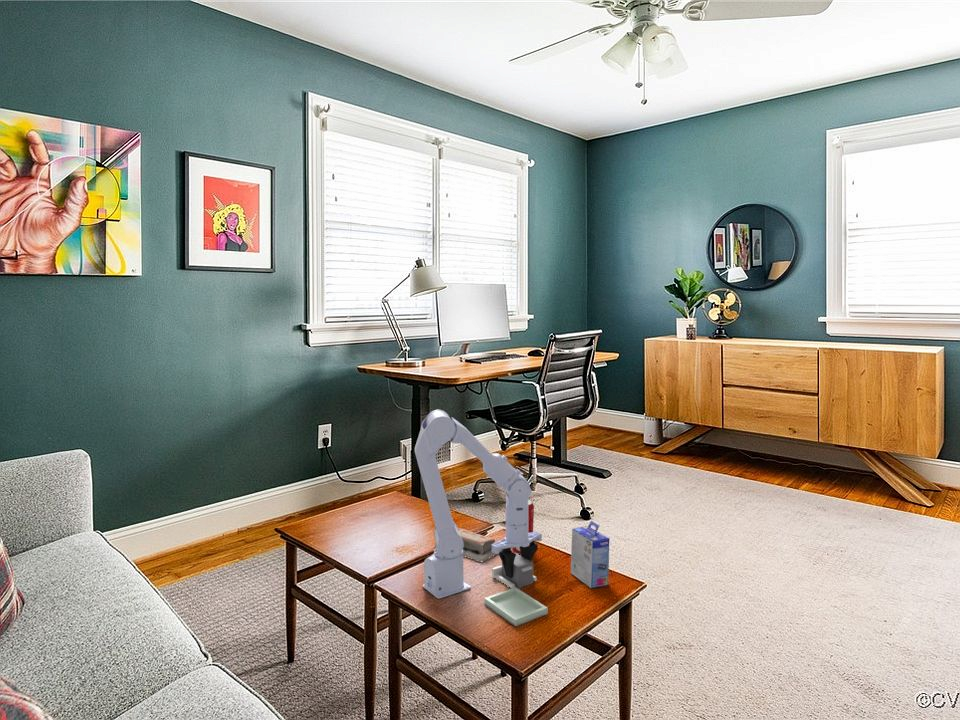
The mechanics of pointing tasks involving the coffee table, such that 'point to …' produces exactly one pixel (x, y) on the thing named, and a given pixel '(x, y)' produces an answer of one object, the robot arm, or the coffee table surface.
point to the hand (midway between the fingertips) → (517, 573)
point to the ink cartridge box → (590, 556)
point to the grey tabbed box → (520, 572)
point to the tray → (515, 606)
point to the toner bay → (498, 575)
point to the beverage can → (530, 523)
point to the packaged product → (476, 545)
